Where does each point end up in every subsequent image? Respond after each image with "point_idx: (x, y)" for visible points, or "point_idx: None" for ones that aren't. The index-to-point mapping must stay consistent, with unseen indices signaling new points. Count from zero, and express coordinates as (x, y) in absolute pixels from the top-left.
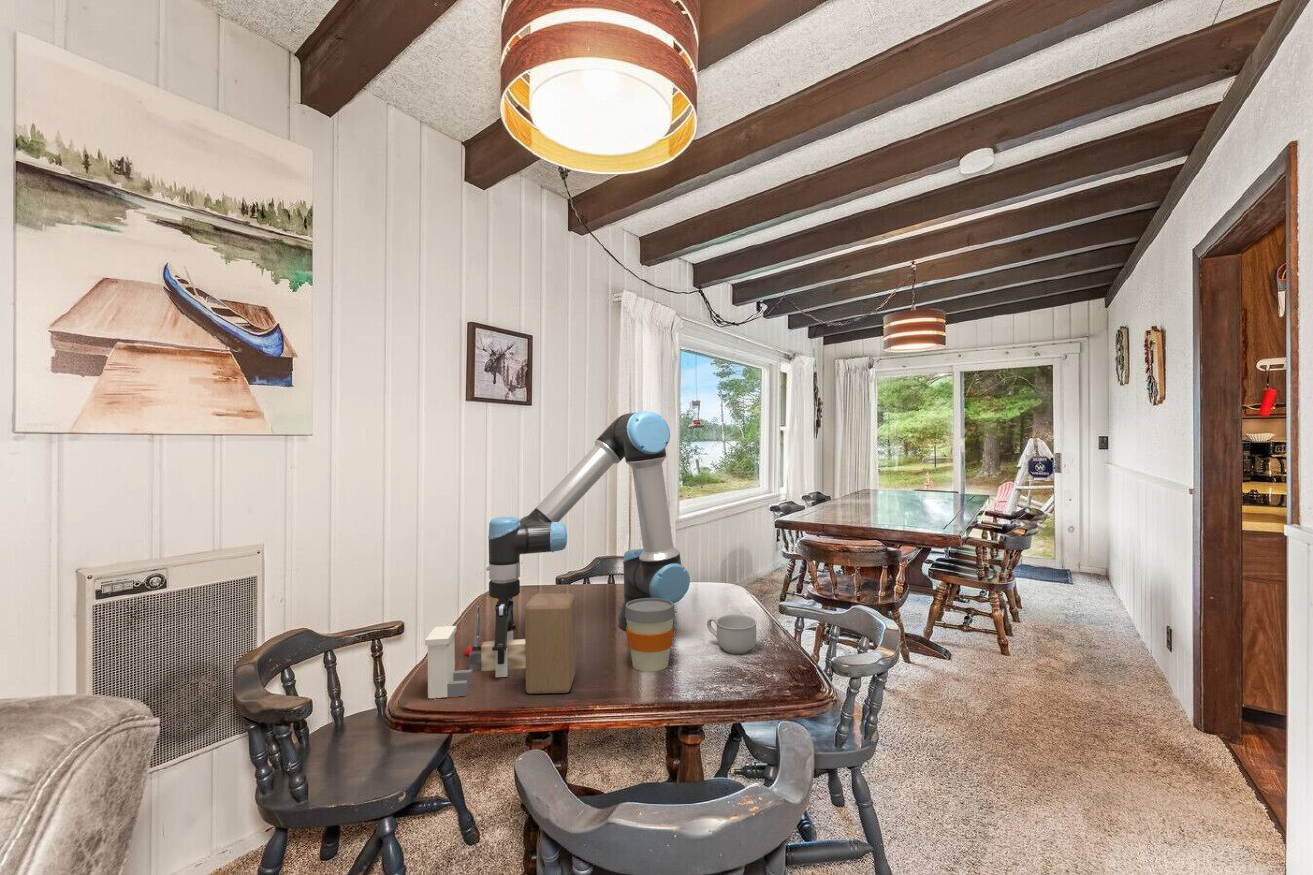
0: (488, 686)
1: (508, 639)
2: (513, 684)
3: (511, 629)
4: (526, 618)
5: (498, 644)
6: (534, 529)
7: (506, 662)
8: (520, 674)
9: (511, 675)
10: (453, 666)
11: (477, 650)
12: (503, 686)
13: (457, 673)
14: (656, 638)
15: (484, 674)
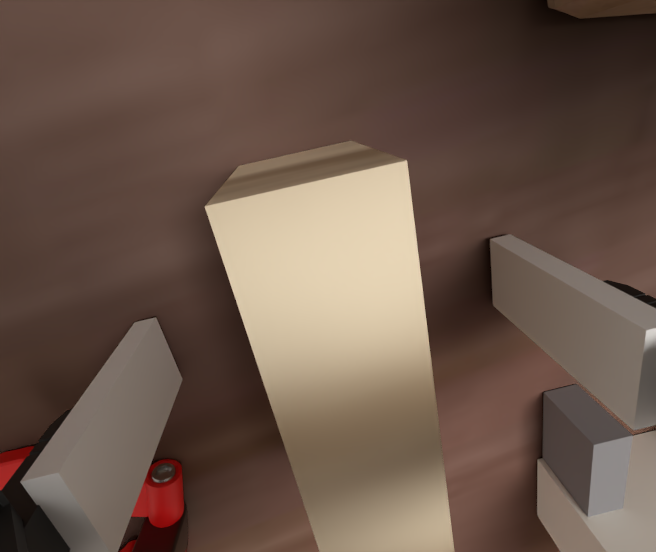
0: None
1: (119, 438)
2: (624, 151)
3: (18, 512)
4: None
5: (412, 457)
6: None
7: (573, 271)
8: (467, 155)
9: (477, 215)
10: (641, 544)
11: (180, 543)
12: (637, 207)
13: (622, 489)
14: None
15: (444, 376)
